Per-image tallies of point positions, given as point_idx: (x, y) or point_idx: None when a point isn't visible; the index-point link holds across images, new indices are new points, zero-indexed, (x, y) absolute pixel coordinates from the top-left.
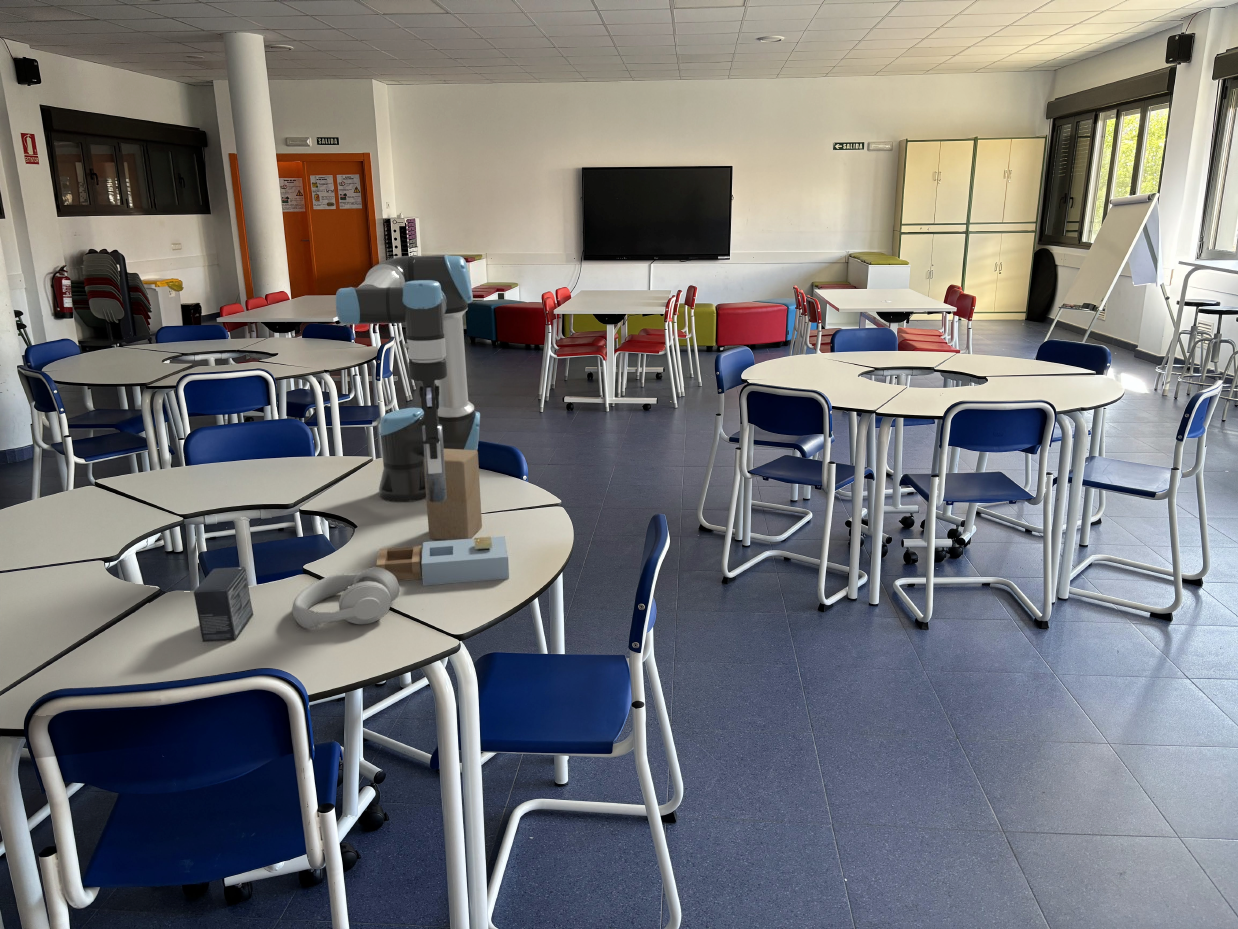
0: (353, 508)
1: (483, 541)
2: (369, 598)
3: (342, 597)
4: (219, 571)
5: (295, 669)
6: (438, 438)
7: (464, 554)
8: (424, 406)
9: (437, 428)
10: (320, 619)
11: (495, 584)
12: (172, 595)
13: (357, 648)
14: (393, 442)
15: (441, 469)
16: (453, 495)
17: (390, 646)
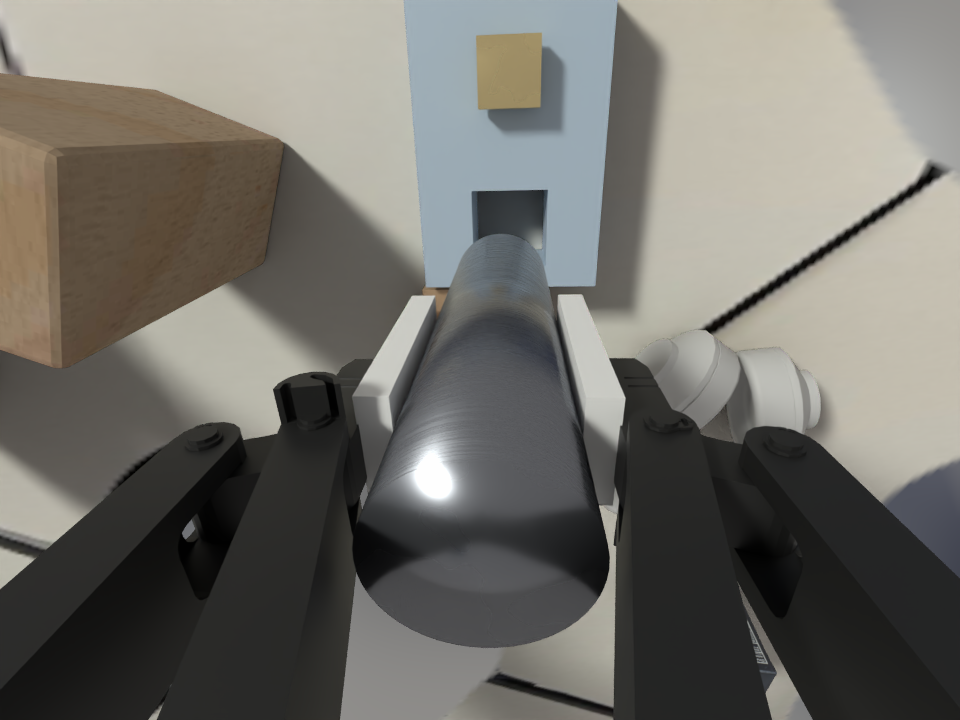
0: (65, 455)
1: (521, 69)
2: (819, 405)
3: None
4: None
5: (900, 483)
6: (802, 453)
7: (554, 149)
8: None
9: (919, 564)
10: None
11: (638, 43)
12: (514, 665)
13: (872, 390)
14: None
15: (583, 302)
16: (188, 200)
17: (901, 326)
